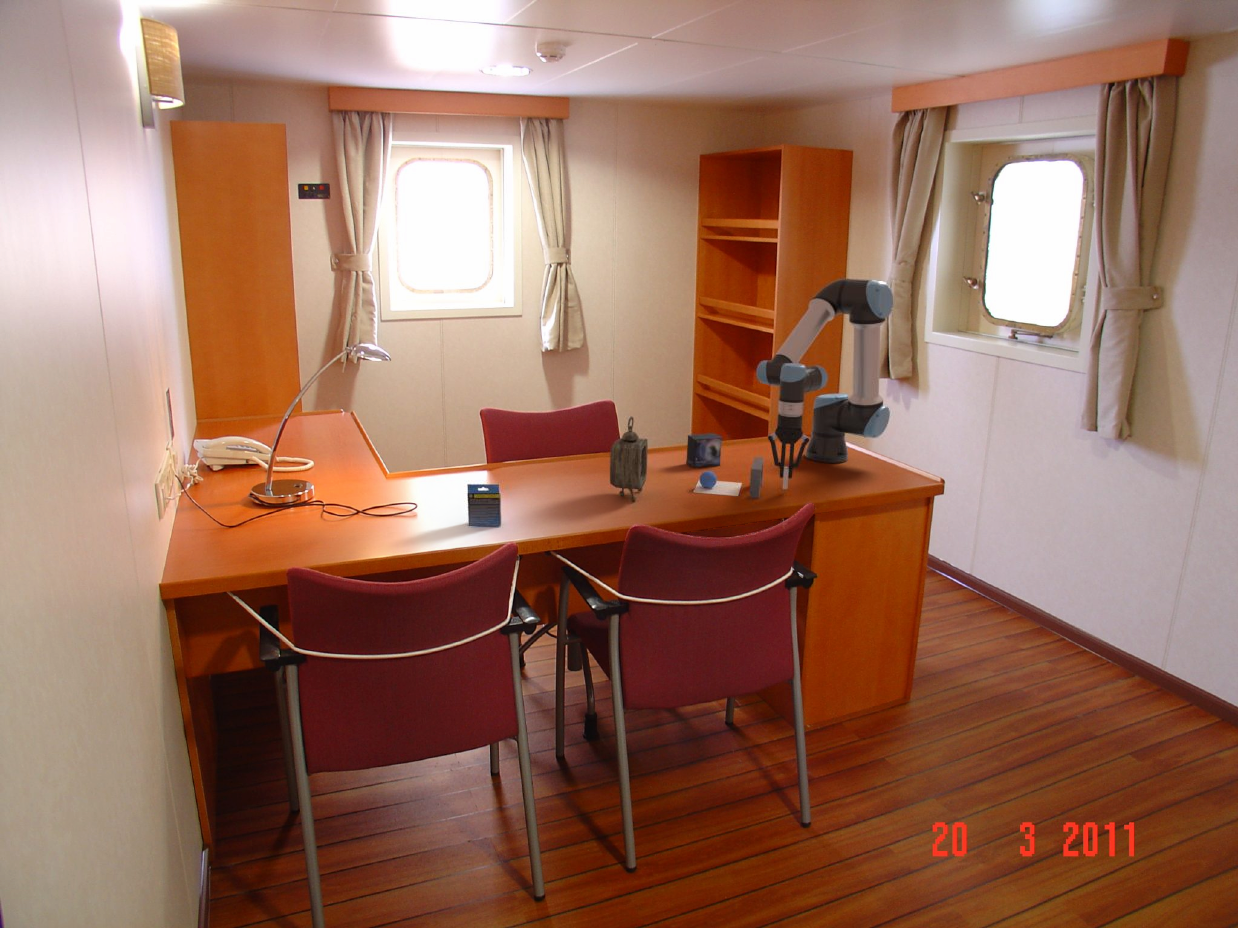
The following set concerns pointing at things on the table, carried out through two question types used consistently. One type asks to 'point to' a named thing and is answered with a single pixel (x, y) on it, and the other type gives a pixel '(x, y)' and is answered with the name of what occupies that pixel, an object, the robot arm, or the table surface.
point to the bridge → (756, 477)
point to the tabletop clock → (629, 462)
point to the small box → (704, 450)
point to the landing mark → (720, 488)
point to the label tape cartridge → (484, 505)
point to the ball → (708, 479)
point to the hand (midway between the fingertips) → (785, 487)
